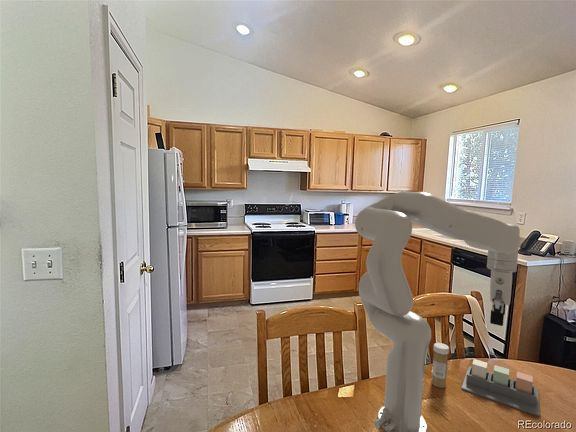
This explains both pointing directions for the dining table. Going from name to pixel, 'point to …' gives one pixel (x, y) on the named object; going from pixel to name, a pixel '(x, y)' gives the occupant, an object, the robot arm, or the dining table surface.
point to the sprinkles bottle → (440, 365)
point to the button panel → (502, 392)
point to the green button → (501, 375)
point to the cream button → (479, 369)
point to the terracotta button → (524, 383)
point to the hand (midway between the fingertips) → (497, 318)
